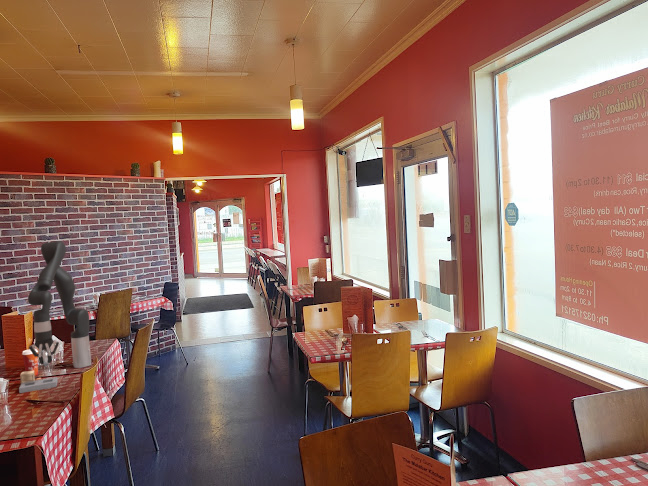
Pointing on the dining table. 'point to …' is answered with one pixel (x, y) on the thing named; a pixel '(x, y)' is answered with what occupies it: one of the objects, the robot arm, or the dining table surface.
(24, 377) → the tan wooden cube
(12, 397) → the dining table surface
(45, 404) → the dining table surface
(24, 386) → the board
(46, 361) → the peg
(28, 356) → the paper cup
